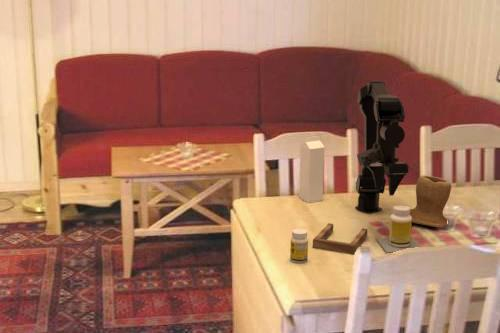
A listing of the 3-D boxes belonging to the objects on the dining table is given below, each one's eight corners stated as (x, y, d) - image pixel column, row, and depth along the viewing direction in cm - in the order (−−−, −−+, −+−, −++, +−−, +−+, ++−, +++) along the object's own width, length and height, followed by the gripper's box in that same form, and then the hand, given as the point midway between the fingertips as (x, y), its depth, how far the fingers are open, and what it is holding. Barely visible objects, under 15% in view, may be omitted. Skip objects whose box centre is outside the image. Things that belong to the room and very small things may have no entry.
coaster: (375, 240, 219) (375, 238, 218) (411, 238, 220) (411, 236, 220) (386, 254, 208) (386, 252, 208) (424, 252, 209) (424, 250, 209)
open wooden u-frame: (328, 231, 226) (328, 223, 225) (367, 236, 221) (367, 228, 220) (312, 247, 212) (312, 239, 212) (353, 254, 208) (353, 246, 207)
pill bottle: (414, 246, 212) (417, 209, 209) (395, 249, 210) (397, 212, 207) (403, 239, 218) (405, 203, 215) (384, 241, 216) (386, 205, 213)
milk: (322, 200, 254) (325, 138, 249) (308, 203, 252) (310, 139, 246) (312, 195, 260) (315, 134, 254) (298, 198, 257) (300, 135, 251)
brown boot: (454, 222, 235) (458, 176, 231) (441, 233, 225) (445, 185, 221) (409, 213, 243) (412, 168, 239) (394, 223, 233) (397, 177, 229)
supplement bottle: (289, 256, 206) (289, 228, 203) (305, 256, 206) (306, 227, 204) (291, 263, 201) (292, 234, 199) (308, 263, 201) (309, 234, 199)
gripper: (348, 136, 225) (347, 187, 228) (374, 145, 207) (372, 200, 210) (382, 135, 228) (380, 185, 230) (410, 144, 210) (408, 198, 213)
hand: (384, 192), depth 221 cm, fingers open, 9 cm apart
